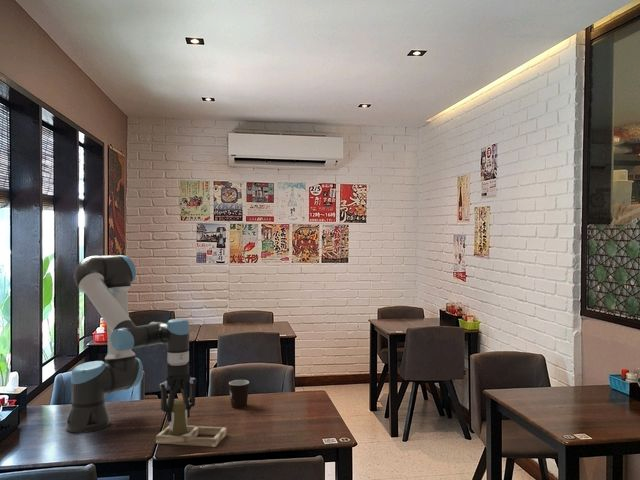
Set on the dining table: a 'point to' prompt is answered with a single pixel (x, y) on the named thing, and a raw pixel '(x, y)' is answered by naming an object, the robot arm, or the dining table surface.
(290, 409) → the dining table surface
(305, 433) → the dining table surface
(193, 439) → the condiment rack
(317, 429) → the dining table surface
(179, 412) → the olive condiment shaker
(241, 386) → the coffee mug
